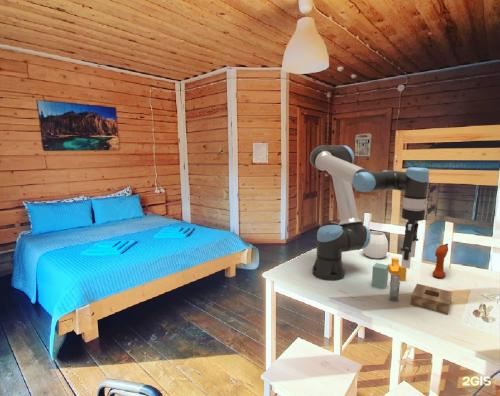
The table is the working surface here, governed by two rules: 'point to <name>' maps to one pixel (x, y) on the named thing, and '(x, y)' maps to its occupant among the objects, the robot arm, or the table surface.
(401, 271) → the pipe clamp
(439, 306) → the socket block
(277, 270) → the table surface
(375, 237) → the white round pot
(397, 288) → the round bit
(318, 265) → the robot arm
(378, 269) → the grey-green rectangular block
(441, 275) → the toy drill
